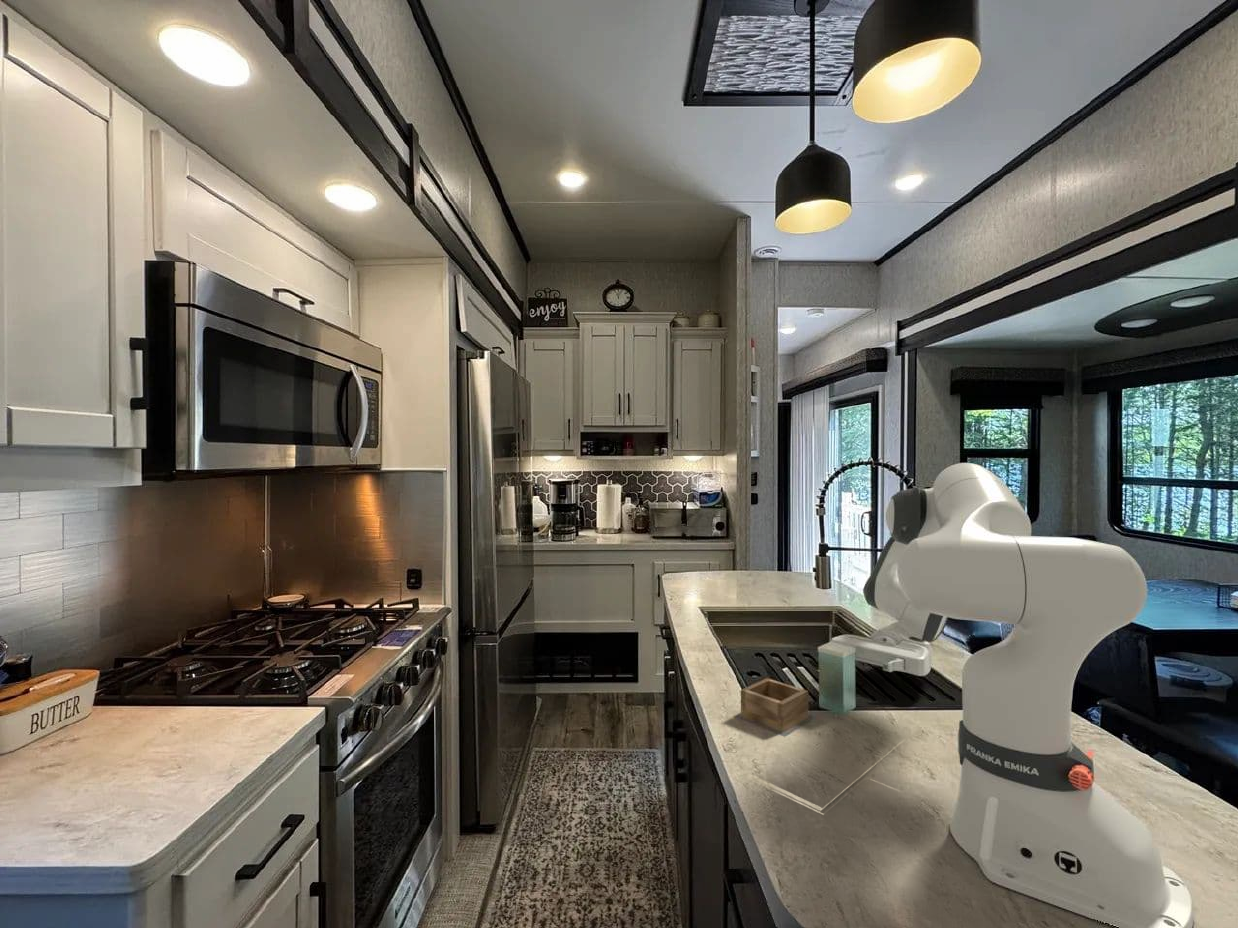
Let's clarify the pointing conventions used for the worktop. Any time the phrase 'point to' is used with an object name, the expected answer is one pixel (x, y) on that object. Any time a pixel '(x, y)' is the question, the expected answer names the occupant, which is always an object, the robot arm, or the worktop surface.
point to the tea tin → (837, 677)
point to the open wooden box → (774, 704)
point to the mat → (776, 730)
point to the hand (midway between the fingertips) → (863, 661)
